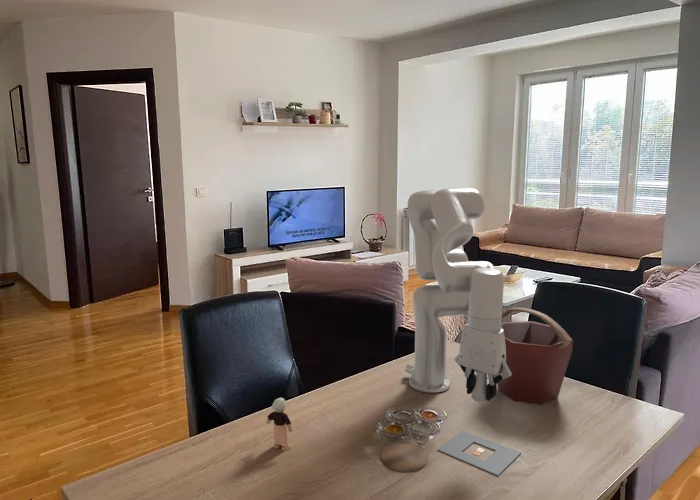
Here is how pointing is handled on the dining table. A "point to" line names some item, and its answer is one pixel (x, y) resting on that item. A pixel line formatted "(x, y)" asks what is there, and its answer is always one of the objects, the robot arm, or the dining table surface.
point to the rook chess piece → (480, 387)
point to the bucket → (534, 358)
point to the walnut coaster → (404, 457)
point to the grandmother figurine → (280, 424)
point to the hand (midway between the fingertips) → (480, 394)
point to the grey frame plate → (492, 464)
